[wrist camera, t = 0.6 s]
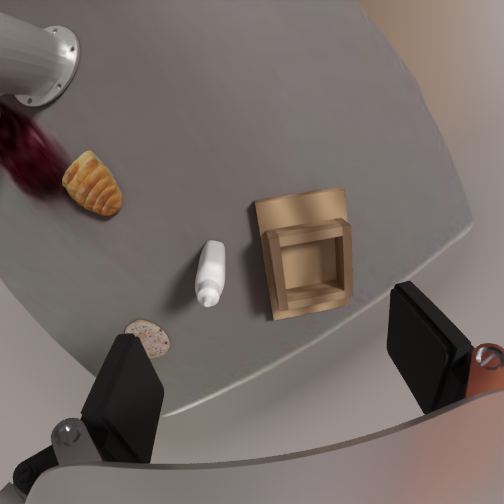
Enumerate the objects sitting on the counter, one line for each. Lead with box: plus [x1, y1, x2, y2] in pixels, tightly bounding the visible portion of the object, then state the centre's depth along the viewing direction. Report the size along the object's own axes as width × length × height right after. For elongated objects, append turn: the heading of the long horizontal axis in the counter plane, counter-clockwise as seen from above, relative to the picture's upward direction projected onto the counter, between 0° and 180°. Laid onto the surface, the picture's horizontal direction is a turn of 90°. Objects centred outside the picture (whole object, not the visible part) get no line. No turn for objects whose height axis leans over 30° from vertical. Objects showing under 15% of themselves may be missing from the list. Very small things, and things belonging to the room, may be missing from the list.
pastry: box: [62, 151, 122, 216], centre depth 36 cm, size 9×7×4 cm
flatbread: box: [125, 319, 170, 359], centre depth 47 cm, size 8×8×1 cm
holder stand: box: [254, 187, 353, 320], centre depth 41 cm, size 12×18×5 cm, turn 9°
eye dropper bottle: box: [195, 240, 225, 307], centre depth 37 cm, size 4×6×12 cm
